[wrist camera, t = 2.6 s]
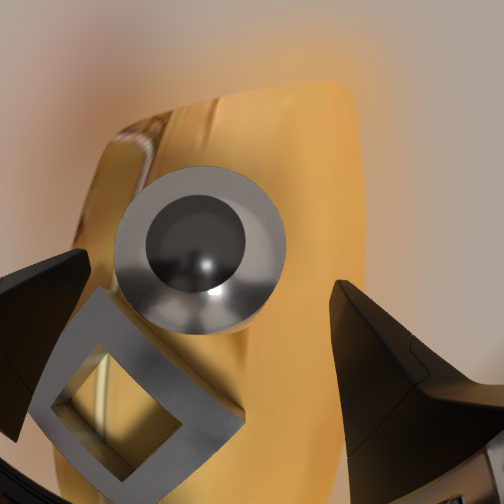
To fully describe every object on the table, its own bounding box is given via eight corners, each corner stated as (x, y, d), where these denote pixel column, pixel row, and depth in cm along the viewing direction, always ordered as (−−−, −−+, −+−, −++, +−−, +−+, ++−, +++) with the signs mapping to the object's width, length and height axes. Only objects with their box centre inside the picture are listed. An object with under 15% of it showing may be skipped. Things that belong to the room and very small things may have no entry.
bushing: (228, 350, 17) (202, 374, 7) (171, 299, 18) (82, 251, 7) (278, 291, 18) (322, 230, 8) (220, 244, 19) (194, 138, 9)
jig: (144, 503, 13) (133, 519, 11) (37, 395, 15) (18, 398, 13) (245, 411, 16) (245, 422, 14) (115, 292, 18) (98, 285, 16)
